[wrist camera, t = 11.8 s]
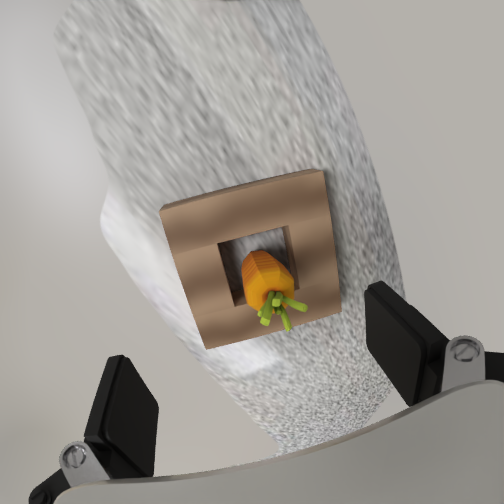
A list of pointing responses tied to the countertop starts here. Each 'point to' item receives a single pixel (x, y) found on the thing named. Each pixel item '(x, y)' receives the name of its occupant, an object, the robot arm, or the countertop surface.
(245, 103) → the countertop surface
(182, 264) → the socket block
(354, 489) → the robot arm
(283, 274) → the carrot
